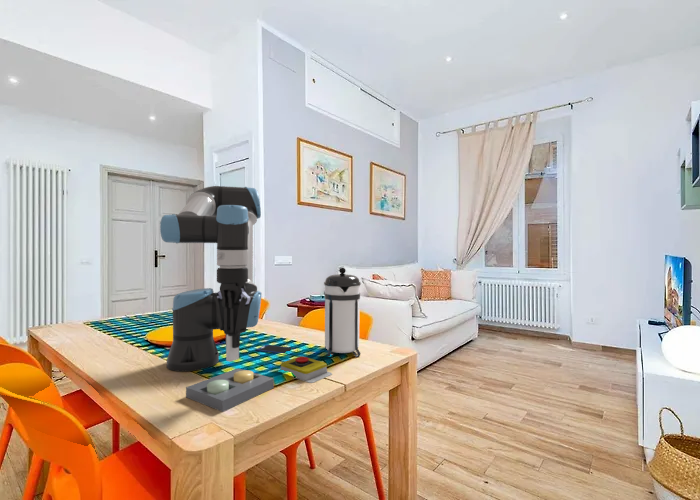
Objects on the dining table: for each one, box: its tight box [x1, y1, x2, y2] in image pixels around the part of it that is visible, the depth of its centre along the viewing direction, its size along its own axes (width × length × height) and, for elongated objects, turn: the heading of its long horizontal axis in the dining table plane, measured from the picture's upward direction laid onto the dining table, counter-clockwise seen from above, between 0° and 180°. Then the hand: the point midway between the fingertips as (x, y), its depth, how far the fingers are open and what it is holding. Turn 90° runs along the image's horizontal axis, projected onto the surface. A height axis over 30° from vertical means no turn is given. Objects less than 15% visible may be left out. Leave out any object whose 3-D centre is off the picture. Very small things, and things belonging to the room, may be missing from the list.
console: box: [185, 368, 275, 412], centre depth 91 cm, size 14×16×2 cm
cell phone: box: [255, 344, 296, 354], centre depth 127 cm, size 7×14×1 cm, turn 70°
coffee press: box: [323, 266, 361, 358], centre depth 126 cm, size 17×16×30 cm
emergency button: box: [280, 355, 333, 384], centre depth 105 cm, size 9×4×15 cm
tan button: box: [234, 369, 254, 384], centre depth 94 cm, size 5×5×3 cm
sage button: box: [207, 380, 229, 395], centre depth 88 cm, size 5×5×3 cm
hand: (232, 359), depth 90 cm, fingers closed
